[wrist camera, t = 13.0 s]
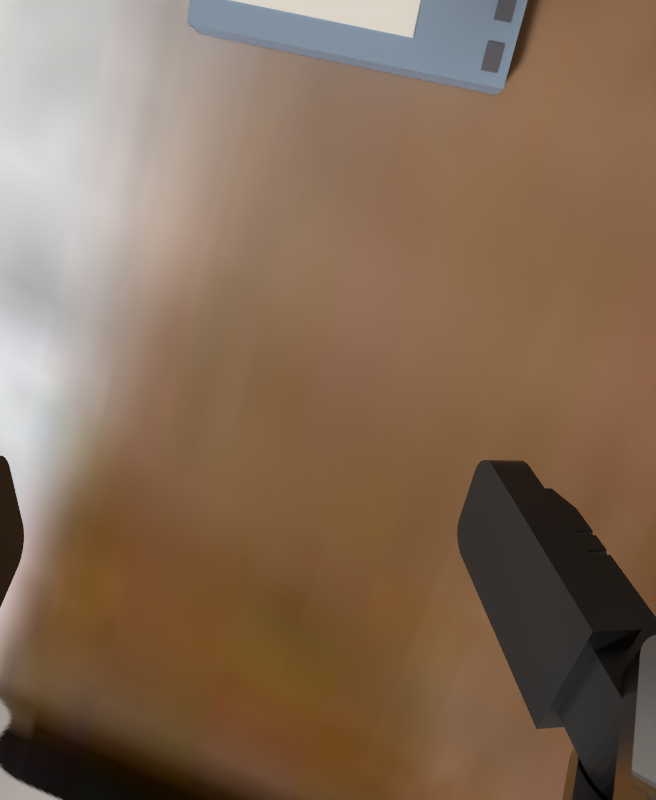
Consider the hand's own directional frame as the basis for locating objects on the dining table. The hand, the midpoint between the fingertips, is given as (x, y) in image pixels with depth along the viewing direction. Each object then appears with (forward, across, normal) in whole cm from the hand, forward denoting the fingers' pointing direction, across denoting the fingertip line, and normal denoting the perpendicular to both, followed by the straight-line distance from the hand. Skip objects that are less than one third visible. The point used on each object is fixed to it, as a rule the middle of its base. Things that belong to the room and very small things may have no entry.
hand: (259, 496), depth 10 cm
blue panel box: (+18, +4, +9) cm, 21 cm away
